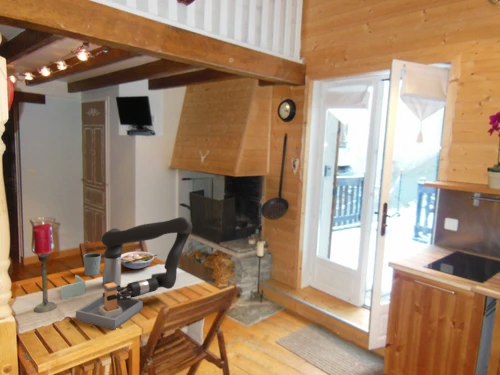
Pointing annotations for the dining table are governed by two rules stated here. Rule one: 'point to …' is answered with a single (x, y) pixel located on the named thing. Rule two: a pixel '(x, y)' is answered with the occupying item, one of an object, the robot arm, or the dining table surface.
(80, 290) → the l-shaped corner panel
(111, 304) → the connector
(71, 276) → the dining table surface
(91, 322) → the walled box
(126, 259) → the ramen bowl
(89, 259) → the teal tapered cup
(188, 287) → the dining table surface
